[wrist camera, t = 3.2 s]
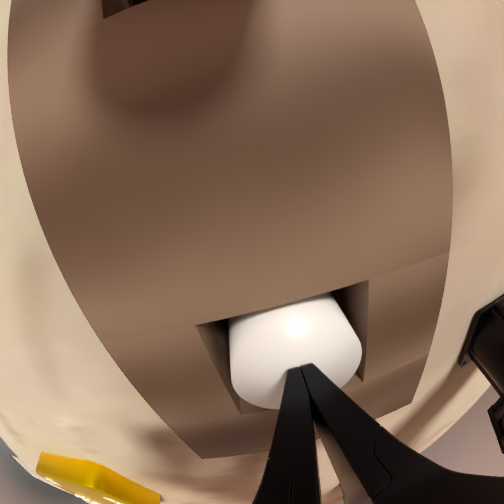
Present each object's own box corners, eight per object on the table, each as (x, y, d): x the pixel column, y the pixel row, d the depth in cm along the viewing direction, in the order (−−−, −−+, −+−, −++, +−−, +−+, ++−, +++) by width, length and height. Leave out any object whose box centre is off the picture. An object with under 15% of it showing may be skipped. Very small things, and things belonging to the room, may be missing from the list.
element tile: (165, 494, 27) (165, 519, 22) (99, 487, 28) (96, 507, 23) (97, 459, 21) (91, 490, 16) (36, 448, 21) (29, 472, 17)
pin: (327, 325, 13) (358, 388, 9) (241, 347, 13) (249, 418, 9) (319, 245, 11) (363, 303, 7) (215, 272, 11) (212, 343, 7)
